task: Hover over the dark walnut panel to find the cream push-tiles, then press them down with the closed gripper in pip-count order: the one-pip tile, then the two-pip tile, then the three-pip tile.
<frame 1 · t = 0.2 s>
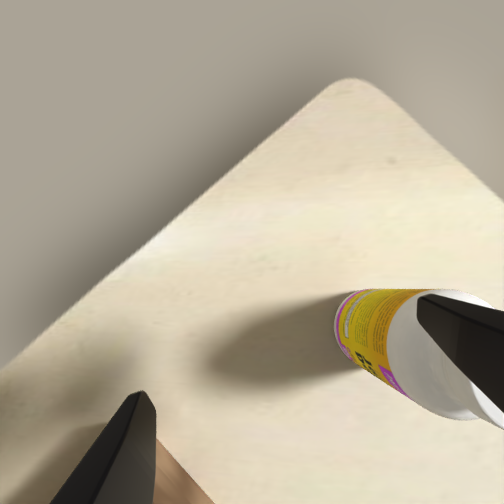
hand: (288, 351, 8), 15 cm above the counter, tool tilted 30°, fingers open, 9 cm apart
supplement bottle: (367, 326, 23), on the counter
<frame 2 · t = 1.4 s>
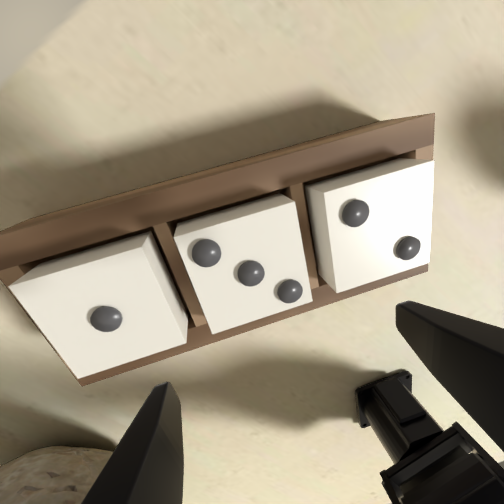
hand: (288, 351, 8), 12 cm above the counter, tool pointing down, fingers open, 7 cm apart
tile three pips: (246, 263, 14), point 5 cm above the counter, slide at 0.0 cm
ceramic bowl: (82, 471, 25), on the counter
tile one pip: (114, 305, 14), point 5 cm above the counter, slide at 0.0 cm
tile panel: (235, 235, 19), on the counter
tile two pips: (369, 225, 15), point 5 cm above the counter, slide at 0.0 cm
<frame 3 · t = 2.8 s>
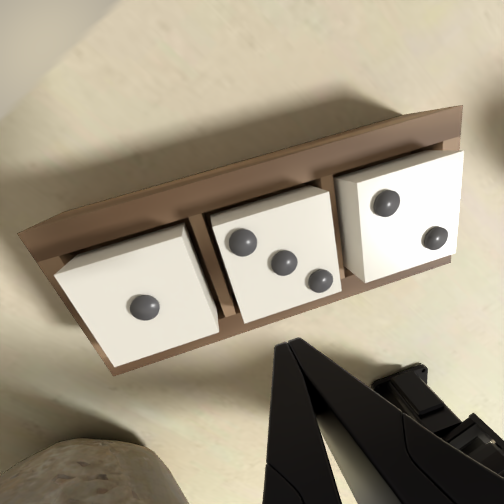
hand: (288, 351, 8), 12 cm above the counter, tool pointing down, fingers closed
tile three pips: (277, 254, 15), point 5 cm above the counter, slide at 0.0 cm
ceramic bowl: (103, 464, 26), on the counter
tile one pip: (149, 295, 14), point 5 cm above the counter, slide at 0.0 cm
tile panel: (259, 229, 19), on the counter
tile two pips: (396, 216, 15), point 5 cm above the counter, slide at 0.0 cm
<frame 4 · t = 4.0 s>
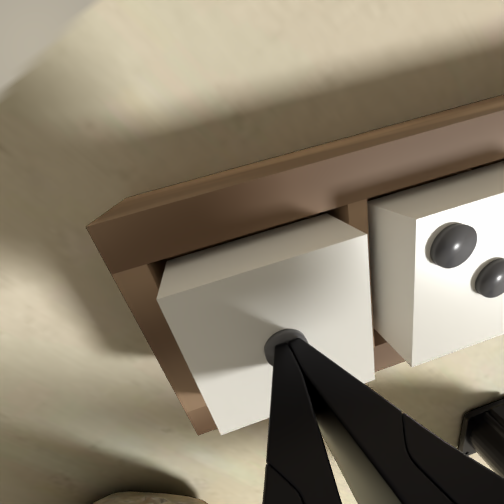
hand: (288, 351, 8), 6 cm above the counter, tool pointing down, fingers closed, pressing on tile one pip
tile three pips: (461, 263, 10), point 5 cm above the counter, slide at 0.0 cm
tile one pip: (275, 324, 9), point 5 cm above the counter, slide at 0.0 cm, touching gripper
tile panel: (377, 226, 14), on the counter
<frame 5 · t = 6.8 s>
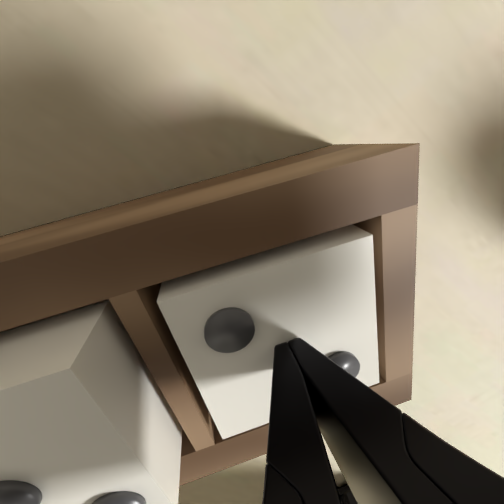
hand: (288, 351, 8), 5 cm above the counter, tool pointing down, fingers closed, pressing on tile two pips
tile three pips: (35, 446, 7), point 5 cm above the counter, slide at 0.0 cm
tile panel: (99, 328, 12), on the counter
tile two pips: (278, 326, 9), point 4 cm above the counter, slide at 1.5 cm, touching gripper
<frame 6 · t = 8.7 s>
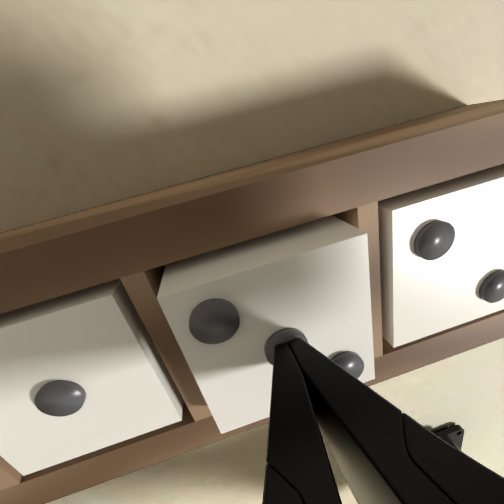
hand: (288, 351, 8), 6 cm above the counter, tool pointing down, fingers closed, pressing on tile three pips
tile three pips: (275, 323, 9), point 4 cm above the counter, slide at 0.6 cm, touching gripper
tile one pip: (77, 368, 10), point 3 cm above the counter, slide at 1.6 cm
tile panel: (251, 269, 13), on the counter
tile two pips: (439, 252, 11), point 3 cm above the counter, slide at 1.6 cm
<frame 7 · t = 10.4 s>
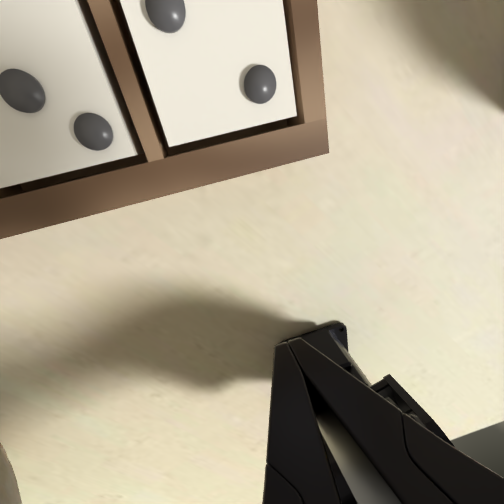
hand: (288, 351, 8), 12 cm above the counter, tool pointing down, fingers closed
tile three pips: (40, 96, 11), point 3 cm above the counter, slide at 1.7 cm
tile panel: (73, 105, 14), on the counter
tile two pips: (214, 58, 11), point 3 cm above the counter, slide at 1.6 cm
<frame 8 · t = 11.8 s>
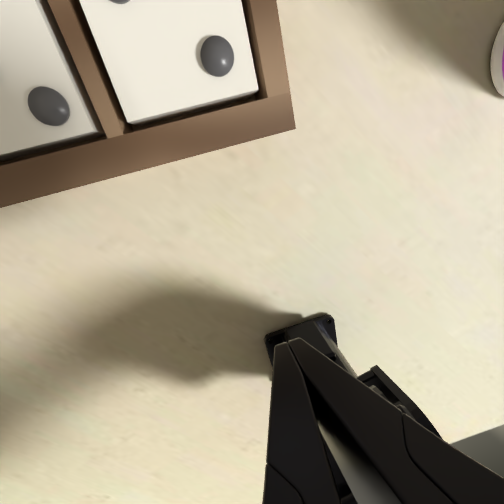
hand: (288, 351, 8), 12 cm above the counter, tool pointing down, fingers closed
tile panel: (42, 90, 14), on the counter
tile two pips: (172, 33, 11), point 3 cm above the counter, slide at 1.6 cm
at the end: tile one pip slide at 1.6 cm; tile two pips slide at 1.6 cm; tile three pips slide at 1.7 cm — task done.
